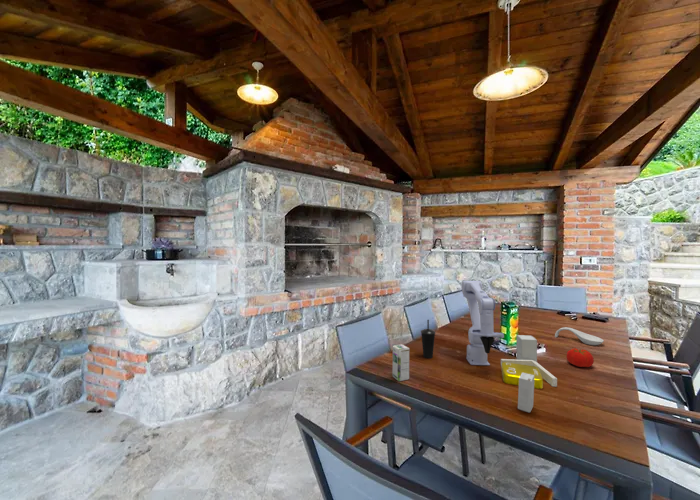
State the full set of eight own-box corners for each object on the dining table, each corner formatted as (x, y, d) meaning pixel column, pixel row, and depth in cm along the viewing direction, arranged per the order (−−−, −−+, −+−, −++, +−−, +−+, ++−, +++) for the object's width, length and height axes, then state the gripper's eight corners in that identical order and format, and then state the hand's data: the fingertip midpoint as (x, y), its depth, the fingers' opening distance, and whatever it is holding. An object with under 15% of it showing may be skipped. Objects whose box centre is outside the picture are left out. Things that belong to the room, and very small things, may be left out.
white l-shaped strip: (518, 384, 129) (518, 377, 129) (500, 365, 149) (500, 359, 148) (556, 386, 128) (557, 378, 128) (534, 367, 147) (534, 360, 147)
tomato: (589, 362, 152) (589, 348, 151) (596, 371, 142) (596, 355, 141) (563, 359, 156) (564, 345, 156) (568, 367, 146) (569, 352, 146)
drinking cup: (435, 354, 163) (435, 318, 162) (435, 360, 156) (435, 322, 155) (421, 353, 166) (421, 317, 165) (420, 358, 158) (420, 321, 158)
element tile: (543, 390, 125) (543, 379, 125) (503, 384, 131) (503, 373, 131) (537, 375, 139) (537, 365, 139) (501, 370, 145) (501, 360, 145)
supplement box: (537, 365, 149) (537, 340, 149) (521, 364, 151) (521, 339, 150) (531, 359, 156) (531, 335, 156) (515, 358, 158) (516, 334, 157)
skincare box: (520, 402, 116) (521, 371, 115) (534, 406, 113) (534, 374, 112) (517, 409, 111) (517, 377, 111) (531, 413, 108) (531, 380, 108)
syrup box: (391, 376, 138) (391, 345, 138) (402, 374, 141) (402, 343, 140) (398, 382, 133) (398, 349, 132) (409, 379, 135) (409, 347, 135)
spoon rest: (605, 344, 178) (605, 332, 178) (601, 349, 170) (602, 336, 170) (557, 334, 196) (558, 324, 195) (552, 339, 188) (553, 327, 187)
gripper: (473, 325, 139) (473, 354, 138) (506, 325, 137) (506, 355, 137) (469, 321, 146) (469, 350, 145) (500, 322, 144) (500, 351, 144)
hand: (487, 352), depth 141 cm, fingers closed
